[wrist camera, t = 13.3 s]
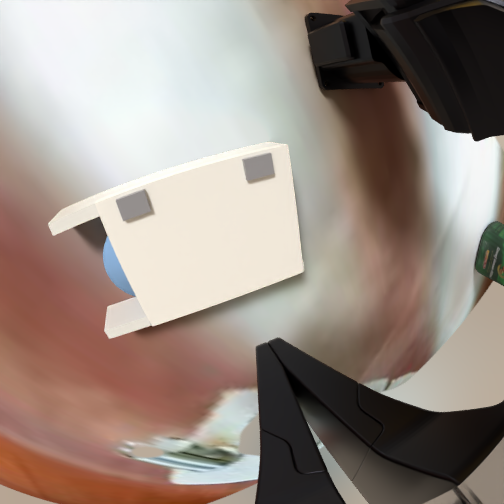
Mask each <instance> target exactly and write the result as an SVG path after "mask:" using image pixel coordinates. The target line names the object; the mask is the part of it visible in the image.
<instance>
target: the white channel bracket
mask: <svg viewBox="0 0 504 504" xmlns="http://www.w3.org/2000/svg"><path fill="white" fill-rule="evenodd" d="M279 144H280V143H274V142H263V143H259V144H255V145H250V146H246V147H242V148H238V149H234V150H230V151H226V152H222V153H219V154H215V155H211V156H208V157H204V158H201V159H197V160H194V161H190V162H187V163H184V164H180V165H177V166H174V167H171V168H168V169H165V170H162V171H158V172H155V173H153V174H150V175H147V176H144V177H141V178H138V179H135V180H133V181H130V182H127V183H124V184H122V185H119V186H116V187H114V188H111V189H109V190H106V191H103V192H101V193H98V194H96V195H94V196H91V197H89V198H86V199H84V200H82V201H79V202H77V203H75V204H72V205H70V206H68V207H66V208H63V209H61V210H60V212H59V213H58V214H57V215H56V216H55V217H54V218H53V219H52V220H51V221H50V222H49V223H48V225H49V228H50V230H51V232H52V235H53V236H54V235H56V234H59V233H61V232H63V231H65V230H68V229H70V228H72V227H75V226H77V225H79V224H82V223H84V222H87V221H89V220H92V219H94V218H96V217H99V213H98V211H97V208H96V205H95V202H96V201H97V200H99V199H101V198H104V197H106V196H109V195H111V194H114V193H116V192H119V191H122V190H124V189H127V188H130V187H133V186H135V185H138V184H141V183H144V182H147V181H150V180H153V179H155V178H158V177H161V176H164V175H168V174H171V173H174V172H177V171H180V170H183V169H187V168H190V167H193V166H197V165H200V164H203V163H207V162H210V161H214V160H218V159H221V158H225V157H229V156H233V155H237V154H240V153H244V152H249V151H253V150H257V149H261V148H265V147H270V146H274V145H279ZM302 263H303V271H304V262H303V260H302ZM148 326H152V325H151V323H150V321H149V320H148V318H147V316H146V314H145V312H144V310H143V309H142V307H141V305H140V303H139V301H138V299H137V297H133V298H130V299H128V300H125V301H122V302H119V303H116V304H113V305H110V306H108V307H107V314H106V322H105V330H104V331H105V333H106V334H107V336H108V337H109V339H111V338H114V337H117V336H120V335H123V334H126V333H130V332H133V331H136V330H139V329H142V328H145V327H148Z"/></svg>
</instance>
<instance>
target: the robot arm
mask: <svg viewBox="0 0 504 504" xmlns="http://www.w3.org/2000/svg"><path fill="white" fill-rule="evenodd" d="M345 6H346V7H347V8H348V9H349V11H350V12H353V13H351V14H349V15H346V16H341V15H332V14H321V13H309V14H307V15H306V16H305V22H306V26H307V30H308V39H309V43H310V47H311V52H312V57H313V62H314V64H315V67H316V72H317V77H318V82H319V86H320V88H321V89H323V90H335V89H360V88H382V87H383V86H384V82H406V83H407V84H408V86H409V88H410V89H411V91H412V92H413V94H414V96H415V98H416V99H417V104H418V105H419V107H420V108H421V109H422V110H424V111H426V112H428V113H429V115H430V116H431V118H432V119H433V120H435V121H436V122H438V123H439V124H441V125H443V126H444V128H445V130H448V131H452V132H456V133H467V134H469V133H471V134H472V137H473V140H474V141H480V140H483V139H485V138H488V137H492V136H500V135H504V0H351V1H349V2H348V3H347V4H346V5H345ZM310 17H312V18H313V21H312V20H311V18H310ZM325 81H326V82H327V86H325V84H324V83H325ZM378 82H379V85H378ZM256 364H257V384H258V404H259V423H260V466H259V476H258V484H257V492H256V500H255V504H346V503H345V501H344V500H343V498H342V497H341V495H340V494H339V492H338V490H337V489H336V487H335V485H334V483H333V481H332V479H331V477H330V475H329V473H328V471H327V468H326V465H325V463H324V461H323V459H322V456H321V454H320V452H319V449H318V447H317V445H316V442H315V440H314V438H313V435H312V433H311V431H310V428H309V426H308V424H307V422H308V423H309V425H310V426H311V428H312V429H313V430H314V432H315V433H316V435H317V436H318V437H319V439H320V440H321V442H322V443H323V444H324V446H325V447H326V448H327V450H328V451H329V452H330V454H331V455H332V456H333V458H334V459H335V460H336V462H337V463H338V465H339V466H340V467H341V468H342V470H343V471H344V472H345V474H346V475H347V476H348V478H349V479H350V480H351V481H352V483H353V484H354V485H355V487H356V488H357V489H358V490H359V492H360V493H361V494H362V496H363V497H364V498H365V499H366V501H367V502H368V503H369V504H504V400H503V401H502V402H501V403H499V404H497V405H494V406H490V407H484V408H478V409H470V410H462V411H452V412H434V411H429V410H425V409H422V408H419V407H416V406H413V405H410V404H407V403H404V402H401V401H398V400H395V399H393V398H390V397H388V396H385V395H383V394H380V393H378V392H376V391H374V390H372V389H370V388H368V387H366V386H364V385H362V384H360V383H359V384H358V382H356V381H355V380H353V379H351V378H349V377H347V376H345V375H343V374H342V373H340V372H338V371H336V370H334V369H333V368H331V367H329V366H327V365H325V364H324V363H322V362H320V361H318V360H317V359H315V358H313V357H311V356H310V355H308V354H306V353H305V352H303V351H301V350H299V349H298V348H296V347H294V346H293V345H291V344H289V343H288V342H286V341H284V340H283V339H281V338H275V339H272V340H270V341H268V343H266V342H265V343H263V344H260V345H258V346H256Z"/></svg>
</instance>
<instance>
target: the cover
mask: <svg viewBox="0 0 504 504" xmlns="http://www.w3.org/2000/svg"><path fill="white" fill-rule="evenodd" d="M95 205H96V208H97V211H98V213H99V216H100V218H101V221H102V223H103V226H104V228H105V230H106V233H107V235H108V238H109V240H110V242H111V245H112V247H113V249H114V251H115V254H116V256H117V258H118V260H119V262H120V264H121V267H122V269H123V271H124V273H125V275H126V277H127V279H128V281H129V283H130V285H131V287H132V289H133V291H134V293H135V295H136V297H137V299H138V301H139V303H140V305H141V307H142V309H143V310H144V312H145V314H146V316H147V318H148V320H149V321H150V323H151V325H152V326H155V325H159V324H162V323H165V322H168V321H170V320H173V319H176V318H179V317H182V316H185V315H188V314H191V313H194V312H197V311H200V310H203V309H205V308H208V307H211V306H214V305H217V304H219V303H222V302H225V301H228V300H231V299H233V298H236V297H239V296H242V295H244V294H247V293H250V292H252V291H255V290H258V289H261V288H263V287H266V286H268V285H271V284H274V283H276V282H279V281H282V280H284V279H287V278H289V277H292V276H295V275H297V274H300V273H302V272H303V263H302V253H301V244H300V234H299V225H298V217H297V208H296V200H295V192H294V185H293V177H292V170H291V163H290V156H289V149H288V145H287V144H279V145H274V146H270V147H265V148H261V149H257V150H253V151H249V152H244V153H240V154H237V155H233V156H229V157H225V158H221V159H218V160H214V161H210V162H207V163H203V164H200V165H197V166H193V167H190V168H187V169H183V170H180V171H177V172H174V173H171V174H168V175H164V176H161V177H158V178H155V179H153V180H150V181H147V182H144V183H141V184H138V185H135V186H133V187H130V188H127V189H124V190H122V191H119V192H116V193H114V194H111V195H109V196H106V197H104V198H101V199H99V200H97V201H96V202H95Z"/></svg>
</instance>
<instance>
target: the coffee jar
mask: <svg viewBox="0 0 504 504" xmlns="http://www.w3.org/2000/svg"><path fill="white" fill-rule="evenodd" d="M476 270H477V271H478V272H479V273H481V274H482V275H484V276H486V277H488V278H489V279H491V280H493V281H495V282H497V283H499V284H501V285H503V286H504V225H503V224H502V223H500V222H498V221H495V222H492V223H490V224H489V225H488V227H487V229H486V231H485V232H484V233H483V236H482V239H481V243H480V247H479V251H478V256H477V260H476Z"/></svg>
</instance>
